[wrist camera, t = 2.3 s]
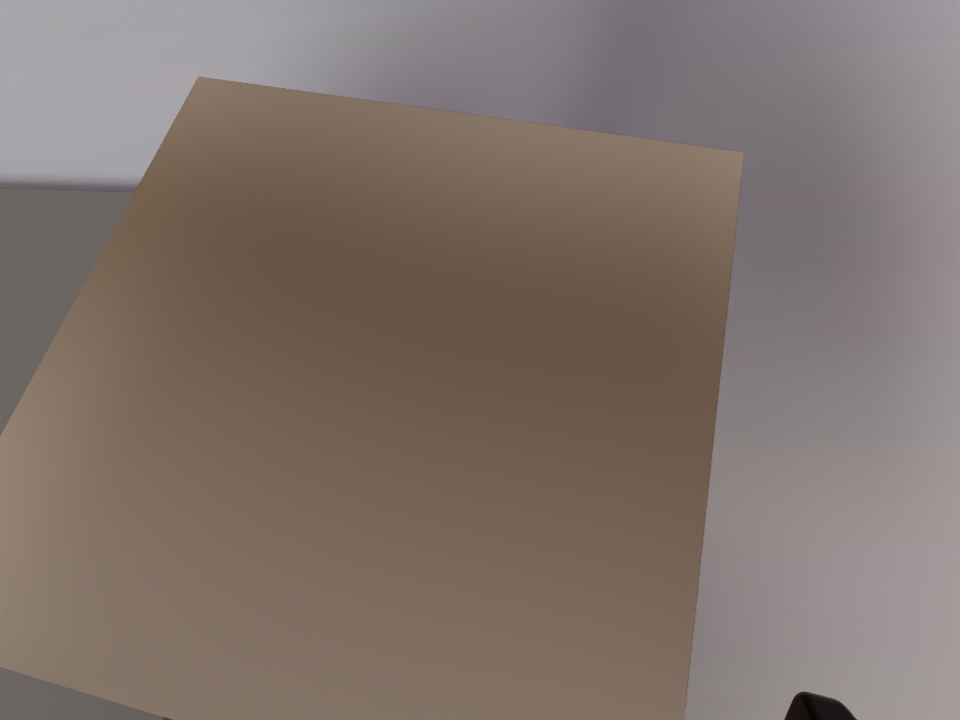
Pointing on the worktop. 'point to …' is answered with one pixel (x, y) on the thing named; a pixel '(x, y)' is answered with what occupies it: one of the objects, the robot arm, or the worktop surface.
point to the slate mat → (22, 346)
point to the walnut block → (378, 422)
